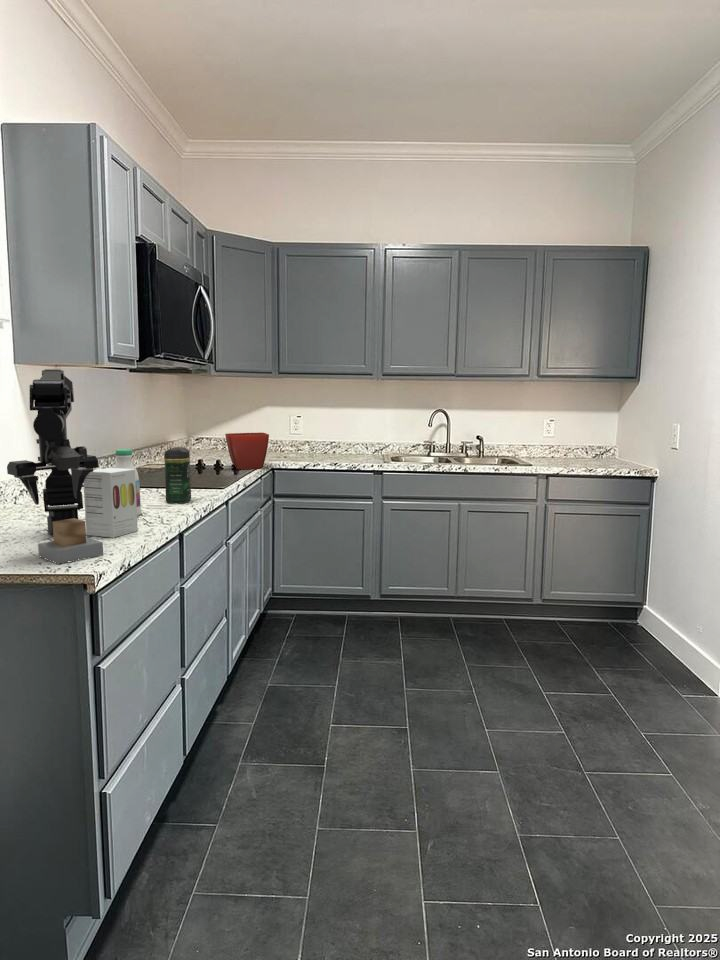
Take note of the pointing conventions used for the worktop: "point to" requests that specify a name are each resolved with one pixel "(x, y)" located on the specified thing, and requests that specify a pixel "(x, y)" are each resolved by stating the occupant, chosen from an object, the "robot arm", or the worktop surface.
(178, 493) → the coffee jar
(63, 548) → the slate slab
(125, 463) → the milk bottle
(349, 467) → the worktop surface
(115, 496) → the supplement box
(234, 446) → the plant pot
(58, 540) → the walnut cube
